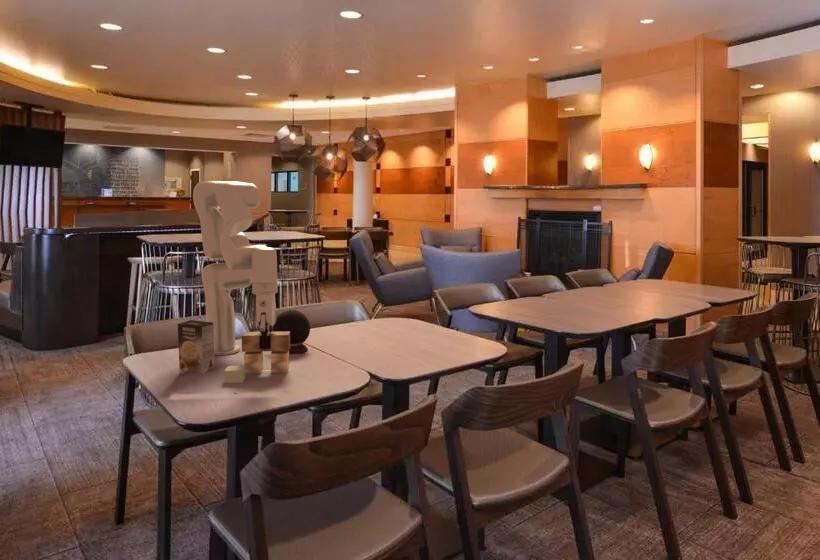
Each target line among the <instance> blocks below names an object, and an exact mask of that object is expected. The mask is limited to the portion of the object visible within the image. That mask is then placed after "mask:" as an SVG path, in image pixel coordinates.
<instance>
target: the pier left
mask: <svg viewBox="0 0 820 560" xmlns="http://www.w3.org/2000/svg"><path fill="white" fill-rule="evenodd" d="M243 353H244V354H243V366H245V374H262V370H264V351H262V352H243Z"/></svg>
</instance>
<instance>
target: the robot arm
mask: <svg viewBox="0 0 820 560" xmlns="http://www.w3.org/2000/svg"><path fill="white" fill-rule="evenodd" d="M192 192H193V194H192V199H193V205H194V207H195V210H196V213H197V215H198V217H199V222H200V223H199V224H200V230H201V239H202V248H203V249H202V250H203V253H204V255H205V257H206V259H211V260H224V262H215V263H210V264H207V265H205V266H204V267H203V268H202V271H201V281H202V286H203V290H204V299H205V300H204V302H205V319H206V321H205V322H213V329H214V356H225V355H232V354H235V353H238V352H239V351H240V350H241V347H240V345H238V344H236V333H235V332H236V329H235V328H236V327H235V326H236V325H235V303H234V299H233V298H232V297H231V295H230V294H229V293H228V292H227V291H228V290H235V289H237V290H238V289H245V288H248V287H250V286H251V288H252V289H251V294H253V295H255V310H256V313H255V315H256V316H255V317H256V325H257V327H259V332H260V336H259V339H260V349H270V348H271V339H270V336H269V332H273V325H274V324H275V322H276V318H277V308H276V307H277V306H276V305H277V304H276V294H278V293H279V290H278V260H277V257H278V256H277V254H278V253H277V250H276V249H275V248H274V247H268V246H266V245H263V244H257V245H256V244H254V245H250V241H249V238H248V237H247V235H246V234H245V233H244V231H246V230H248V229H249V228H250V227H251V225H252V223H253V216H252V215H251V214H252V213H251V212H250V211H251V210H250V209H257V208H259V205H260V204H261V192H260V190H259V188H258V187H257V186H256V185H255V184H254V183H250V182H244V181H232V180H231V181H227V180H224V181H223V180H222V181H221V180H205V181H201V182H198V183H196V185H194V188H193V191H192ZM218 207H219V208H218Z"/></svg>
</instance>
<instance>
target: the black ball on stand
mask: <svg viewBox="0 0 820 560" xmlns="http://www.w3.org/2000/svg"><path fill="white" fill-rule="evenodd" d="M272 331H273V332H285V331H290V349H289V355H303V353H304V354H306V353H308V352H309V349H308V347H307V345H305V344H304V343H305V342H306V341H307V340H308V338H309V336H310V333H311V323H310V320H309V319H308V317H307V316H306V315H305V314H304V313H303V312H301V311H299V310H297V309H289V310H285V311H282V312H281V313H279V314H278V315H276V322H275V324H274V325H273V326H272ZM307 351H308V352H307ZM305 352H306V353H305Z"/></svg>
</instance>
